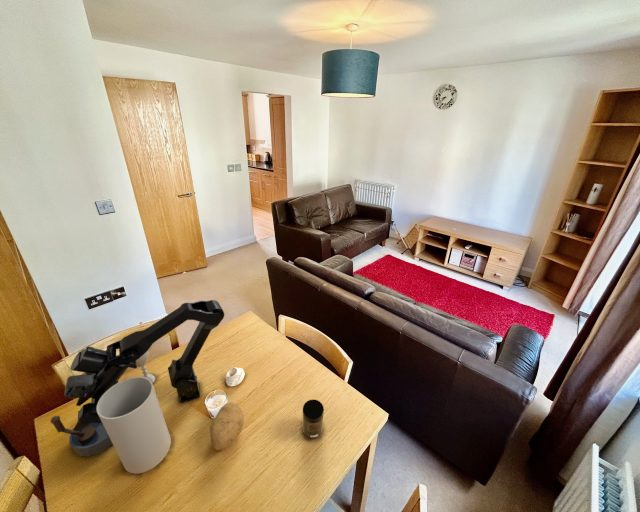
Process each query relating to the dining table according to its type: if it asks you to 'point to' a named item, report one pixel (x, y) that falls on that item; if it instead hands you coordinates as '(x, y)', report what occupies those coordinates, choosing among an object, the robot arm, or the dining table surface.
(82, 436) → the ladle
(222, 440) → the potato
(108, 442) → the bowl
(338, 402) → the dining table surface
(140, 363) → the chalice
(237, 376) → the whipped cream
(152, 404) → the cylinder vase
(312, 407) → the supplement container
